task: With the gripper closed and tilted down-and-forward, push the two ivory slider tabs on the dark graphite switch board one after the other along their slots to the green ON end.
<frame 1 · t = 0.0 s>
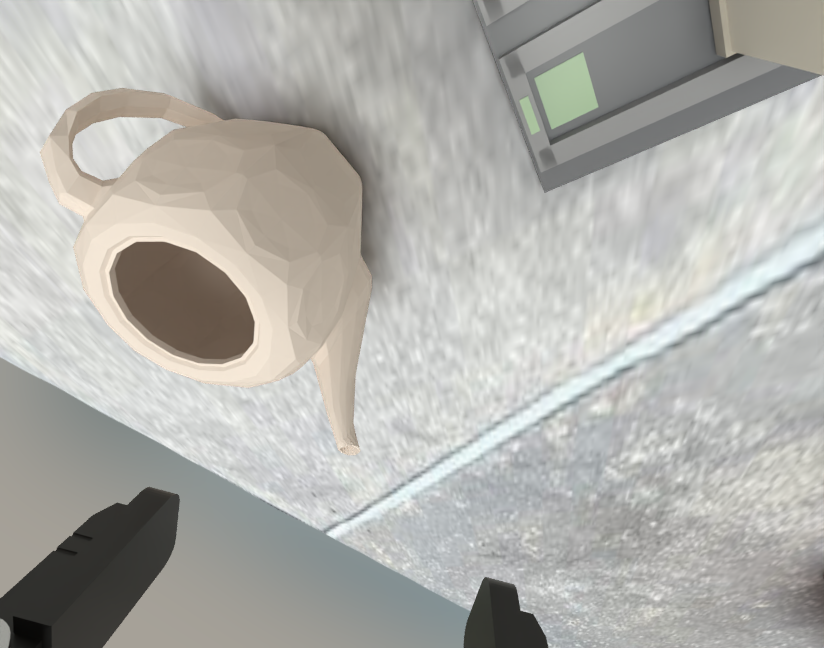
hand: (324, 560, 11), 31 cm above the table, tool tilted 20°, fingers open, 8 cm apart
tab 2: (793, 7, 21), point 8 cm above the table, slide at 0.0 cm
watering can: (311, 203, 40), on the table
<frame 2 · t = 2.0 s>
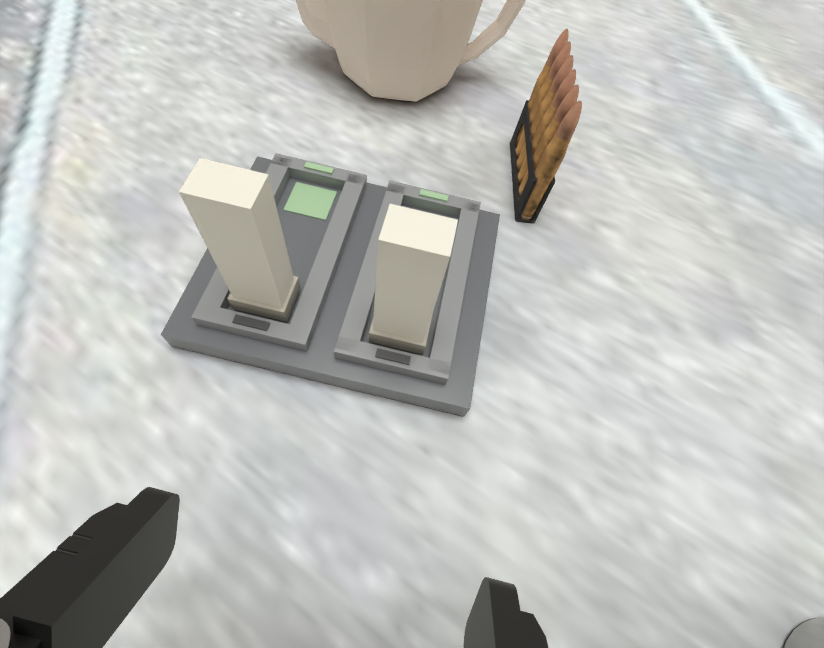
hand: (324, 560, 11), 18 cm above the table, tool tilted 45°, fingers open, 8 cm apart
tab 1: (407, 289, 27), point 8 cm above the table, slide at 0.0 cm
tab 2: (250, 251, 27), point 8 cm above the table, slide at 0.0 cm
ammunition clip: (520, 182, 44), on the table
switch board: (351, 281, 36), on the table
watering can: (384, 71, 49), on the table
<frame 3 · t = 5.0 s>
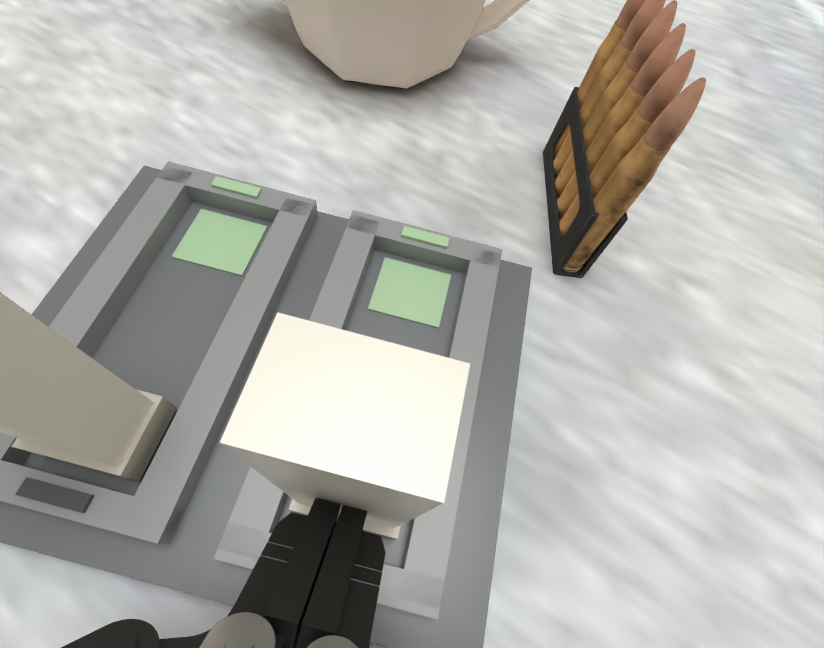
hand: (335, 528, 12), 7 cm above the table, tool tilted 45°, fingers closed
tab 1: (355, 460, 12), point 8 cm above the table, slide at 0.4 cm, touching gripper
tab 2: (8, 381, 12), point 8 cm above the table, slide at 0.0 cm
ammunition clip: (559, 211, 29), on the table
switch board: (281, 379, 22), on the table
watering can: (363, 46, 35), on the table
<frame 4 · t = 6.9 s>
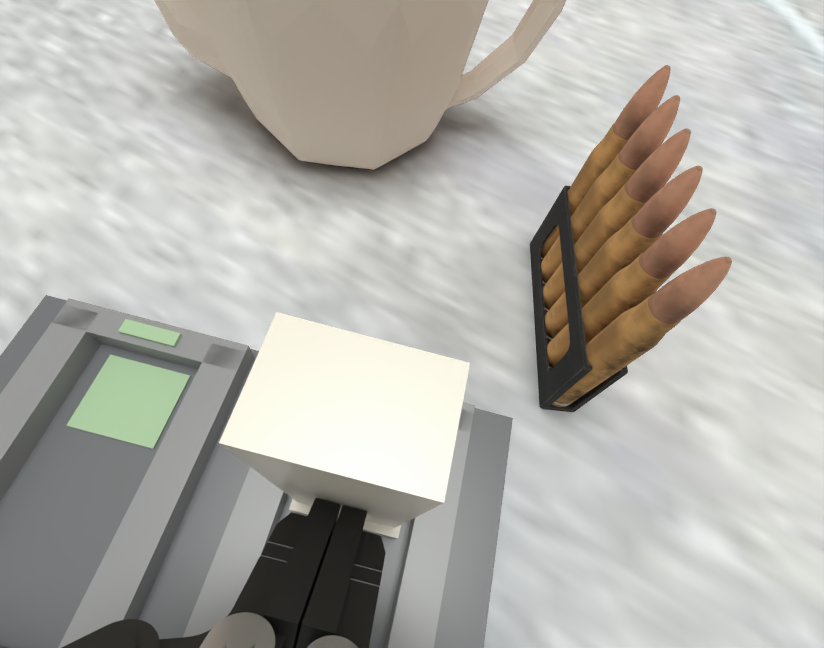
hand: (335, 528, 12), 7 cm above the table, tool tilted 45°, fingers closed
tab 1: (355, 460, 12), point 8 cm above the table, slide at 9.0 cm, touching gripper
ammunition clip: (548, 320, 25), on the table
switch board: (202, 576, 17), on the table
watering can: (328, 113, 31), on the table
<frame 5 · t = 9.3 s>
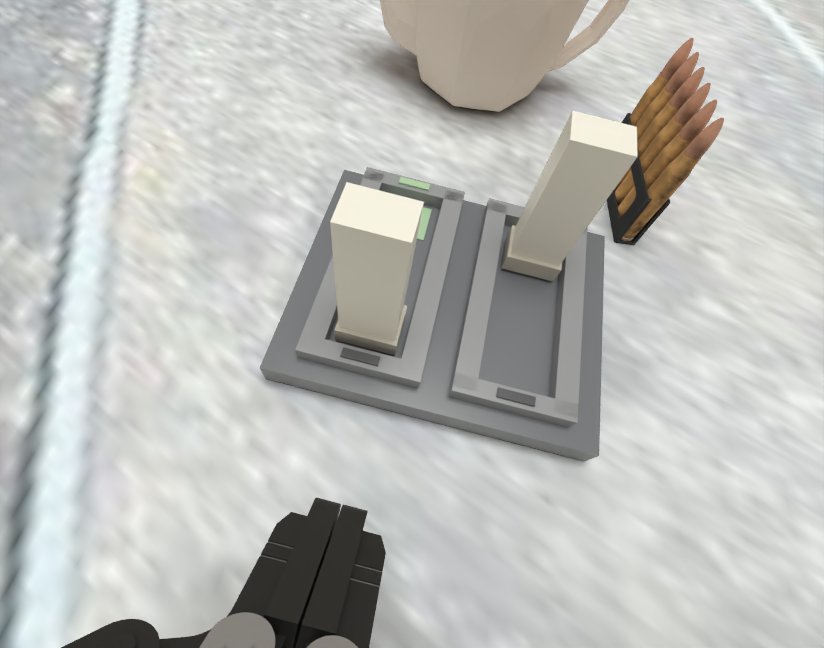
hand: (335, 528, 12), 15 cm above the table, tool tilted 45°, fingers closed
tab 1: (559, 207, 28), point 8 cm above the table, slide at 9.0 cm
tab 2: (374, 282, 24), point 8 cm above the table, slide at 0.0 cm
ammunition clip: (614, 199, 41), on the table
switch board: (449, 306, 33), on the table
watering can: (460, 78, 47), on the table
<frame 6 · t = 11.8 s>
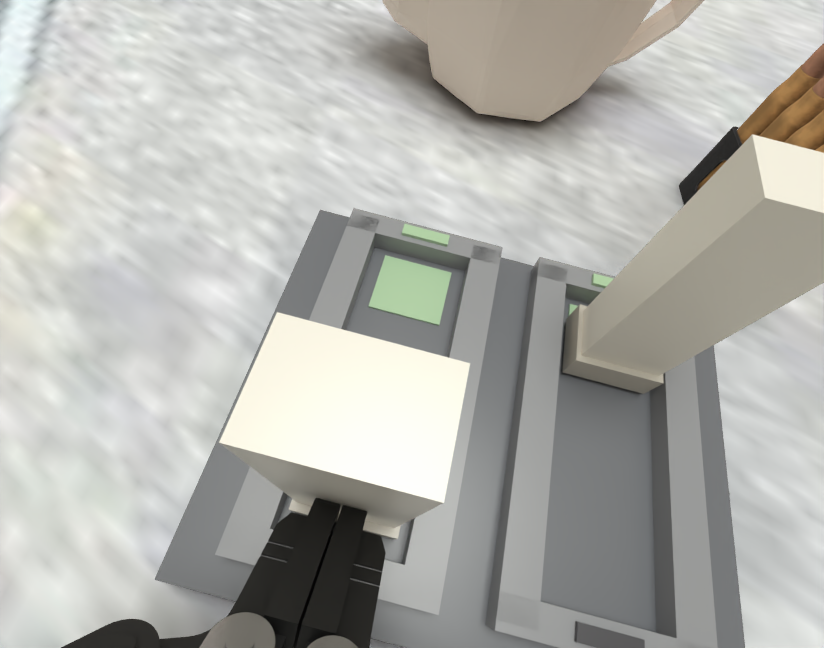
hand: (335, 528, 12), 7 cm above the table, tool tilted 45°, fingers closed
tab 1: (680, 295, 16), point 8 cm above the table, slide at 9.0 cm
tab 2: (355, 460, 12), point 8 cm above the table, slide at 0.2 cm, touching gripper
ammunition clip: (705, 247, 29), on the table
switch board: (479, 428, 21), on the table
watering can: (485, 76, 35), on the table
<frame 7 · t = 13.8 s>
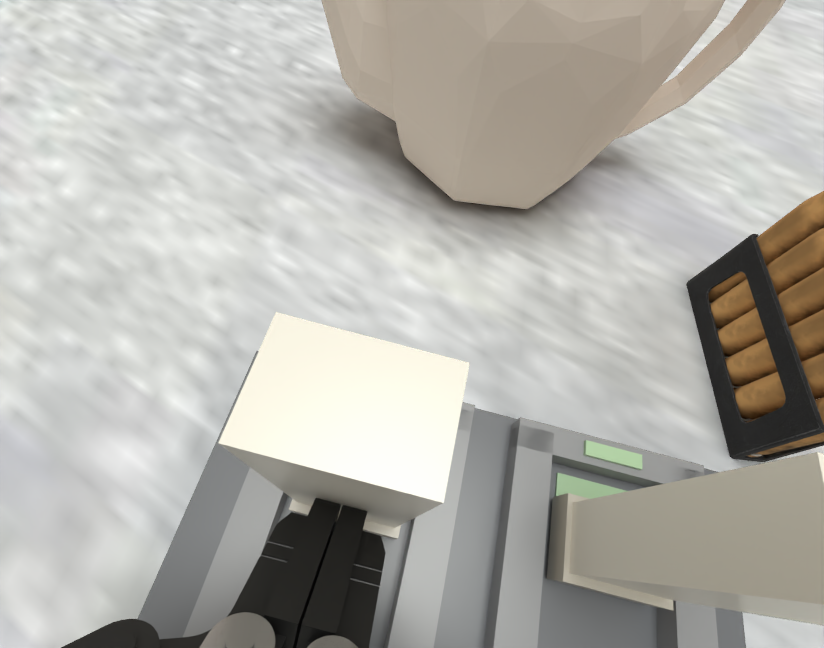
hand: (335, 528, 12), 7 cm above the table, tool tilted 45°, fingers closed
tab 1: (698, 549, 12), point 8 cm above the table, slide at 9.0 cm
tab 2: (354, 460, 12), point 8 cm above the table, slide at 9.0 cm, touching gripper
ammunition clip: (718, 364, 25), on the table
switch board: (444, 640, 17), on the table
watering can: (466, 149, 31), on the table
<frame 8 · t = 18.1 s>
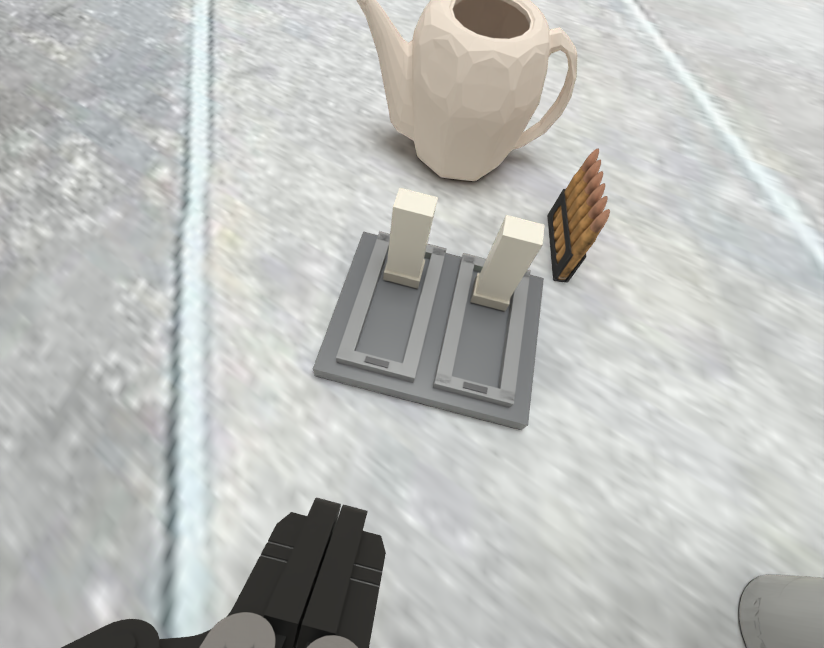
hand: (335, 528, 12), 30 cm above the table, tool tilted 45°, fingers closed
tab 1: (504, 266, 44), point 8 cm above the table, slide at 9.0 cm
tab 2: (409, 241, 44), point 8 cm above the table, slide at 9.0 cm
ammunition clip: (556, 248, 57), on the table
switch board: (435, 327, 49), on the table
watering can: (447, 153, 63), on the table
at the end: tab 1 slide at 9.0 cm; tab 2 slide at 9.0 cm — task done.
